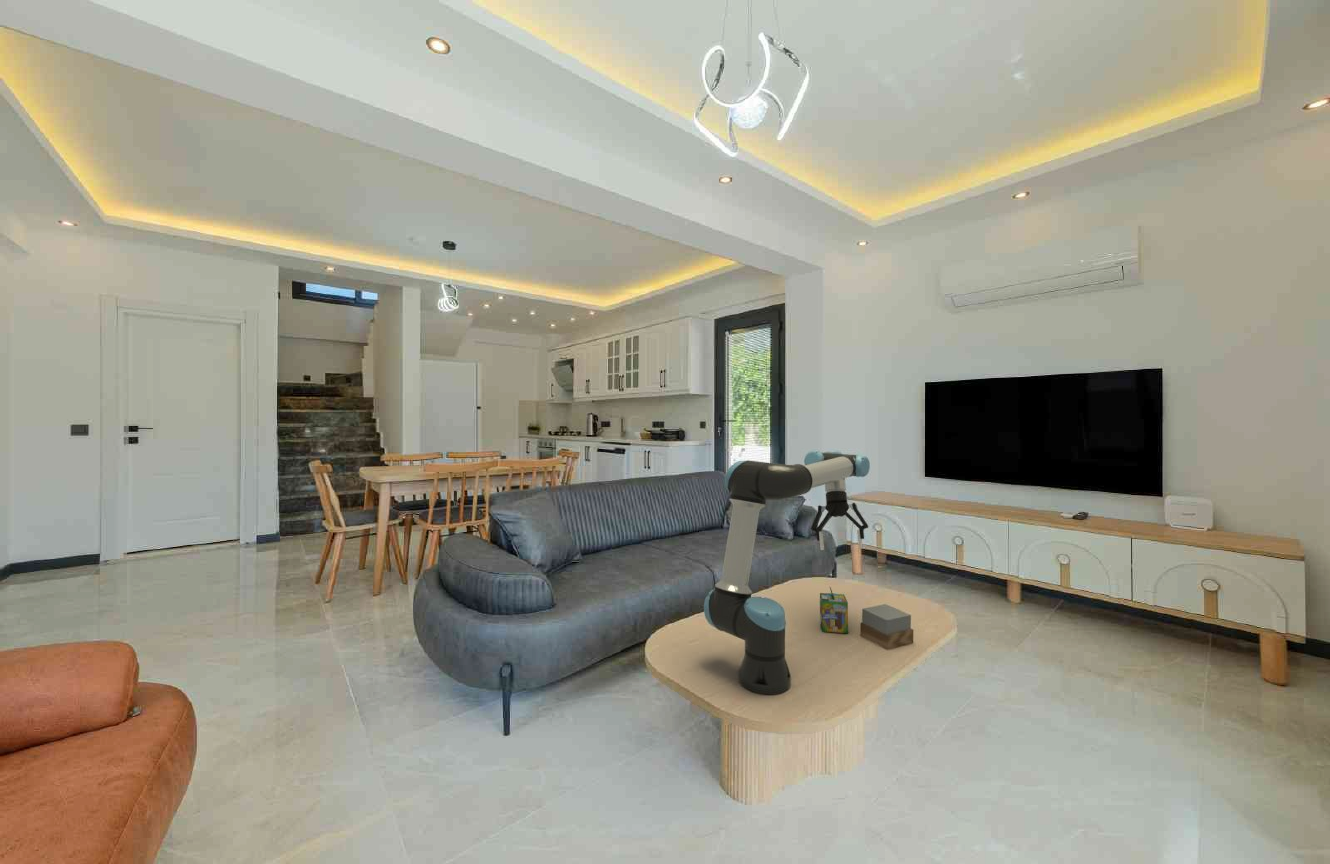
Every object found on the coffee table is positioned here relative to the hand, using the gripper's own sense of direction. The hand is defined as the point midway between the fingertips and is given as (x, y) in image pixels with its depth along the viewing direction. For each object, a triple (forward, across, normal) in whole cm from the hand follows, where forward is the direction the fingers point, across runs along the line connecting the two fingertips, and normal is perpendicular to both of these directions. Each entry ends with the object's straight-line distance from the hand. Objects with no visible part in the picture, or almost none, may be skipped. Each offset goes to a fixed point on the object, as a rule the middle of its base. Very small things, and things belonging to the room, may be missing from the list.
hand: (841, 549), depth 191 cm
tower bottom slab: (+31, -11, -6) cm, 33 cm away
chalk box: (+28, +7, -7) cm, 29 cm away
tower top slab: (+26, -12, -5) cm, 29 cm away
